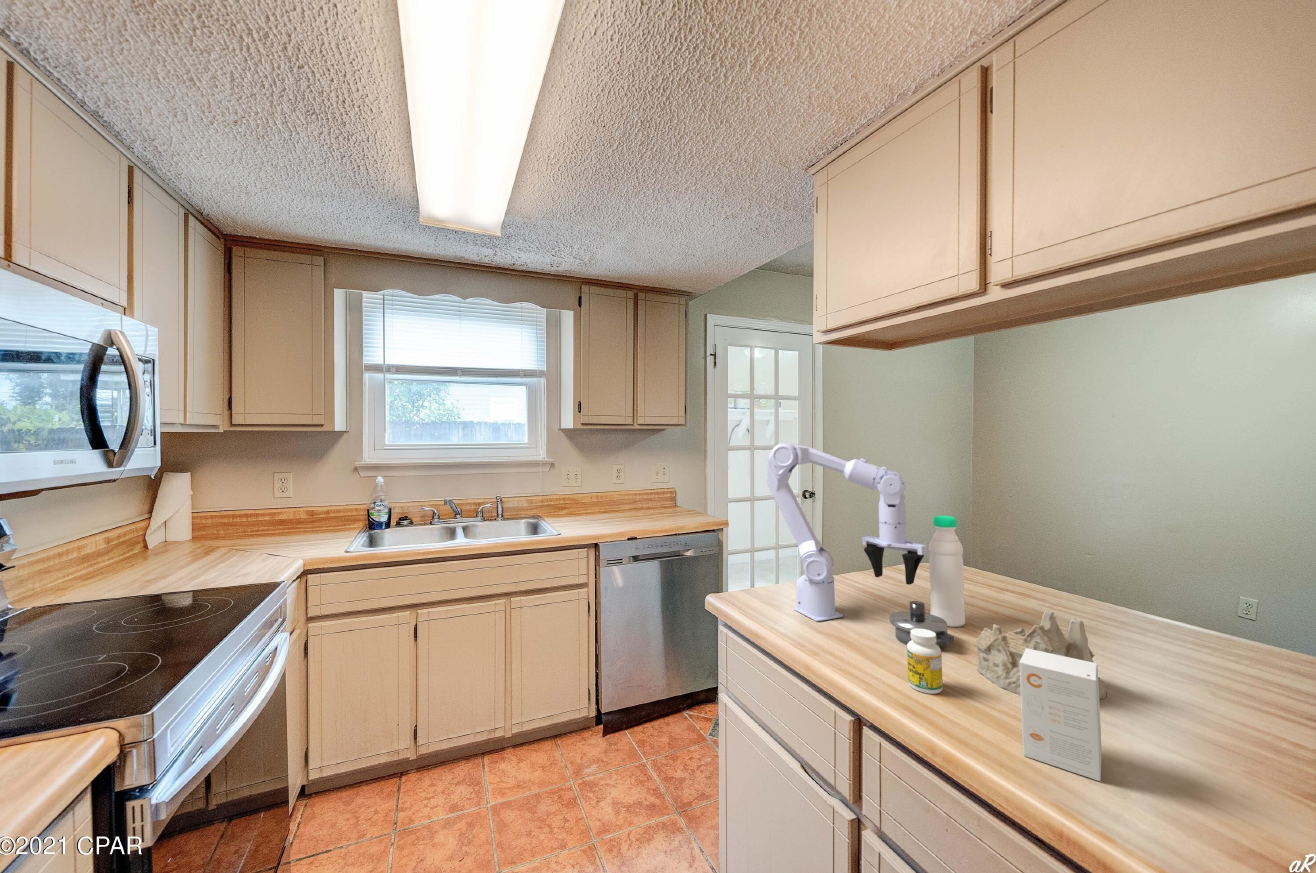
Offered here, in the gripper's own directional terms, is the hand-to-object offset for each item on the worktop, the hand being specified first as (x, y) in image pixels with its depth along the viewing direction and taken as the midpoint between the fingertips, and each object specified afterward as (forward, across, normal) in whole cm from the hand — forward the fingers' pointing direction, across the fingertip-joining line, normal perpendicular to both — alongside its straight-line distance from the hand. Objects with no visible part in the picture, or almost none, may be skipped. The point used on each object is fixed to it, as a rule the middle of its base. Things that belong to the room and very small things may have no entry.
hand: (893, 579), depth 115 cm
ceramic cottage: (+11, +30, -6) cm, 32 cm away
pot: (+10, +8, -4) cm, 14 cm away
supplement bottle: (+11, +18, -24) cm, 32 cm away
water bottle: (+11, +7, +11) cm, 17 cm away
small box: (+11, +39, -28) cm, 49 cm away
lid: (+7, +8, -5) cm, 12 cm away
